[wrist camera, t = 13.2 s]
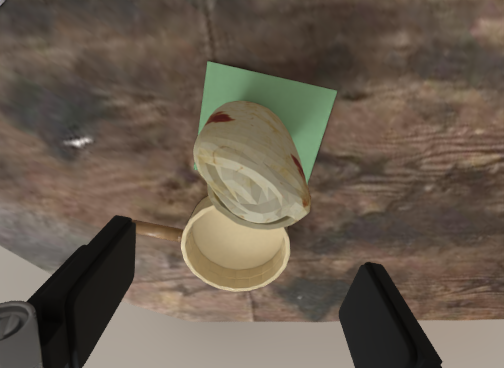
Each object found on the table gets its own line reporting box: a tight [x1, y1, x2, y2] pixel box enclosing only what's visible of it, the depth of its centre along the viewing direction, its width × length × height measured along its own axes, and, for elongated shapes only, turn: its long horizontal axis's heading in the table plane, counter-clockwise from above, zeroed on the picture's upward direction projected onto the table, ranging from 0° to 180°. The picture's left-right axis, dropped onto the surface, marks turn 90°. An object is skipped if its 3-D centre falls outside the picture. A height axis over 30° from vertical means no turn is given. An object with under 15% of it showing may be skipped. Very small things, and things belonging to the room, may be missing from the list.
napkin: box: [194, 61, 337, 183], centre depth 35 cm, size 16×14×1 cm
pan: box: [181, 196, 290, 291], centre depth 39 cm, size 15×15×4 cm
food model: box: [193, 101, 311, 230], centre depth 25 cm, size 10×7×20 cm
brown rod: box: [132, 220, 184, 242], centre depth 38 cm, size 8×2×2 cm, turn 78°
